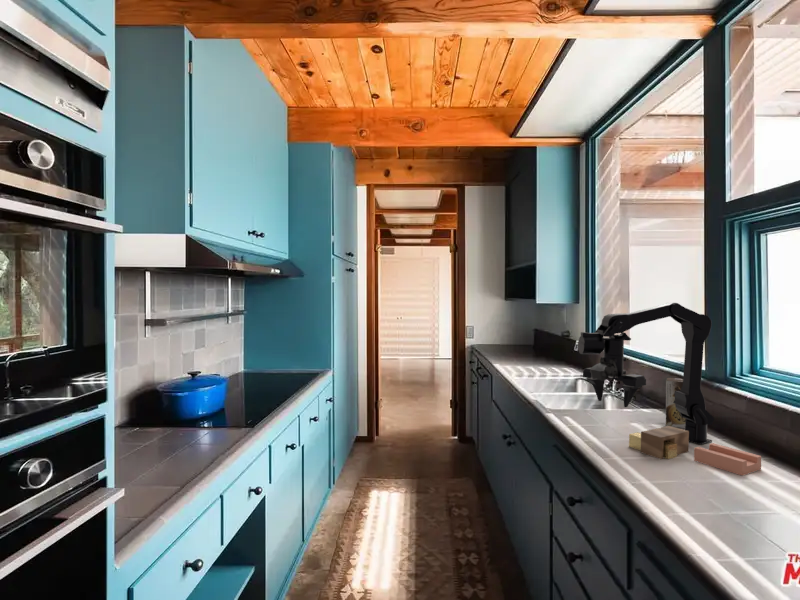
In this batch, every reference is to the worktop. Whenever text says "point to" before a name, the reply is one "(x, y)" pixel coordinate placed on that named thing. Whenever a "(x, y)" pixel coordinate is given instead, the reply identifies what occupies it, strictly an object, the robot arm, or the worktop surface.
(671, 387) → the product box
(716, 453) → the rust cradle
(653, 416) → the worktop surface
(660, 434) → the walnut beam
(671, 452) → the brass block
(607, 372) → the robot arm
